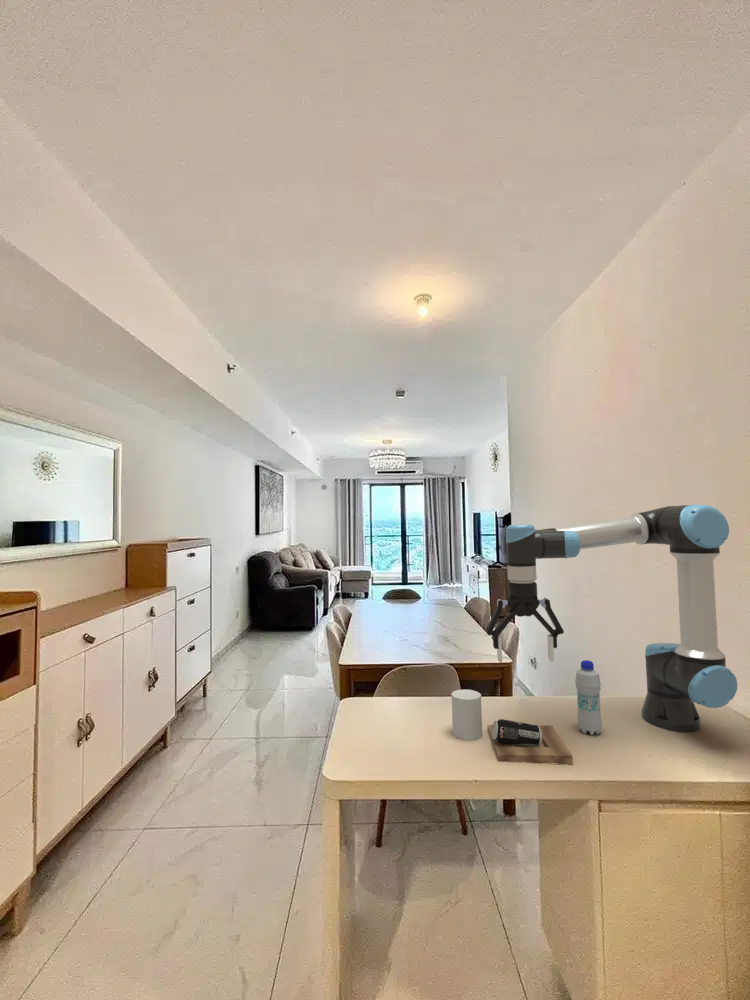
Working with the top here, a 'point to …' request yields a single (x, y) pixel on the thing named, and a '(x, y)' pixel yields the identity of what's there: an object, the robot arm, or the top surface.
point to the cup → (466, 714)
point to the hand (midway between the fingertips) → (525, 660)
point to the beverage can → (517, 733)
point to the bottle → (588, 698)
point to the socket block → (534, 749)
